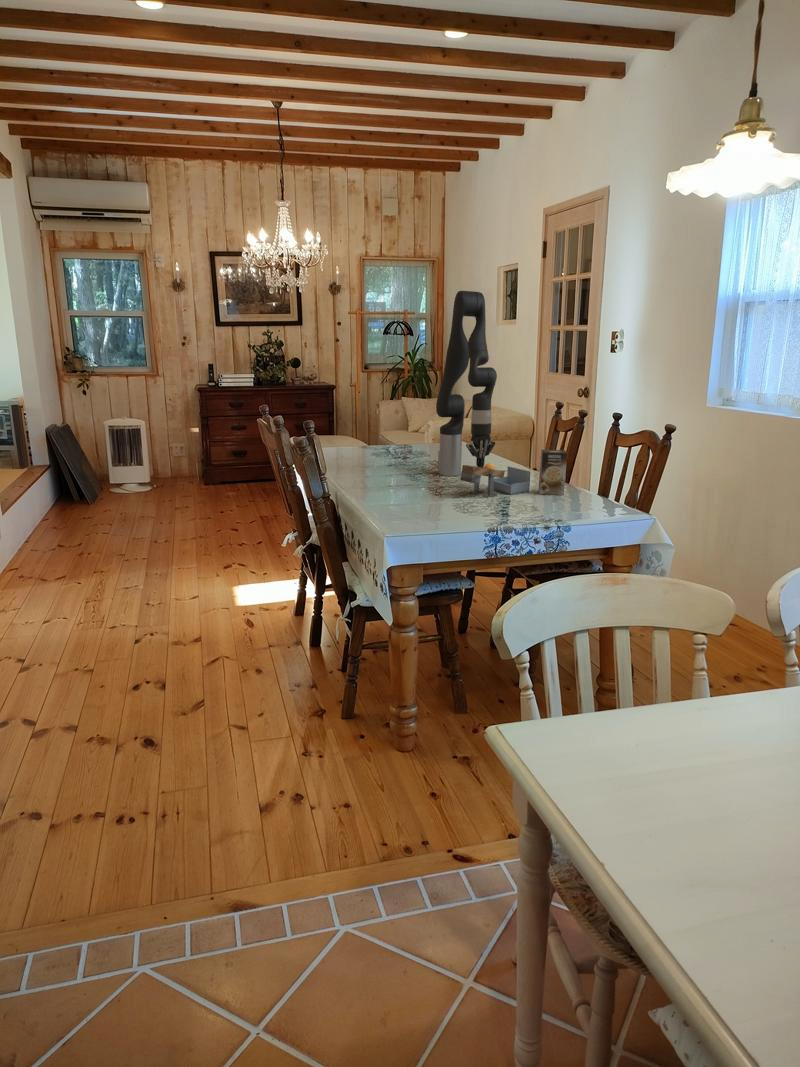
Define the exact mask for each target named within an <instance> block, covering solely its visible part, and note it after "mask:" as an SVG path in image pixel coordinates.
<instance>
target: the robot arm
mask: <svg viewBox="0 0 800 1067" xmlns="http://www.w3.org/2000/svg"><path fill="white" fill-rule="evenodd" d="M453 300H454V302H453V308H452V309H453V311H452V320H451V328H450V335H449V340H448V345H447V350H446V356H445V363H444V370H443V375H442V379H441V383H440V388H439V391H438V395H437V398H436V402H435V403H436V404H435V410H436V414H437V415H438V417H440V418H450V419H449V421H448V422H446V423H445V424H443V425H441V426H440V428H439V450H438V454H437V455H438V456H437V459H438V460H437V473H438V475H440V476H447V477H456V476H457V477H458V476H461V473H462V455H463V454H462V452H463V451H462V450H463V449H462V447H463V440H462V439H463V428H464V422H465V421H464V419H465V409H466V408H465V406H466V404H465V403H466V402H465V400H464V397H463V396H462V395H461V394H460V393H459V394H456V393H454V394H453V392H452V391H453V389H454V387H455V385H456V383H458V381H459V379H460V378H461V377H462V376H463V375H464V373H465V372H466V370H467V368H468V367H469V368H468V375H467V381H468V384H469V385H470V386H471V387H472V388H473V387H474V388H484V389H483V390H482V391H481V392H477V393H474V394H473V395H472V399H471V400H472V405H471V407H472V408H471V416H470V418H471V420H470V434H471V438H470V442H469V443H466V445H465V446H466V449H467V450H468V451H469V453H470V454H471V456H472V457H476V460H475V461H476V463H475V464H476V465H475V466H477V467H484V466H485V458H486V456H487V457H488V456H489V455H490V454H491V452H492V450H493V448H494V447H495V445H496V442H495V441H493V440H492V439H491V434H492V398H493V397H492V396H493V393H494V389H495V386H496V382H497V380H498V379H497V378H498V377H497V376H498V374H497V371H496V370H495V368H493V367H492V366H491V367H490V366H488V367H481V366H484V365H485V364H487V363H488V362H489V360H490V356H489V350H488V344H487V338H486V336H487V334H486V326H487V325H486V322H487V321H486V300H485V296H484V294H483V292H480V291H474V290H473V291H472V290H459V291H457V293H456V294H455V297H454V299H453ZM464 317H473V318H475V326H474V328H473V330H472V332H471V334H470V335H469V337H468V338H467V336H466V334H465V331H464V327H463V325H464V324H463V322H464V321H463V320H464Z"/></svg>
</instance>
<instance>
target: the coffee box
mask: <svg viewBox="0 0 800 1067" xmlns="http://www.w3.org/2000/svg"><path fill="white" fill-rule="evenodd" d="M567 460H568V452H567V451H566V450H565V449H564V450H563V449H562V450H561V449H541V451H540V463H539V464H540V466H539V478H538V479H539V480H538V495H541V494H546V495H547V496H565V486H566V474H567V473H566V471H567ZM546 495H545V496H546Z"/></svg>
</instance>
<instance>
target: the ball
mask: <svg viewBox="0 0 800 1067" xmlns="http://www.w3.org/2000/svg"><path fill="white" fill-rule="evenodd" d="M484 469H492V470H496V467H495V465H494V464H493V463H491V462H487V463H486V464H484Z"/></svg>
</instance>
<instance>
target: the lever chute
mask: <svg viewBox="0 0 800 1067" xmlns="http://www.w3.org/2000/svg"><path fill="white" fill-rule="evenodd" d="M505 472H506V471H505V470H501V469H500V470H499V469H495V470H492V469H484V467H477V465H467V464H462V466H461V475H460V481H464V482H467V483H470V484H474V483H477V484H479V485H480V483H481V478H482V476H483V477H488V474H489V473H493V474H494V475H495V476H494V478H504V477H505Z"/></svg>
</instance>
